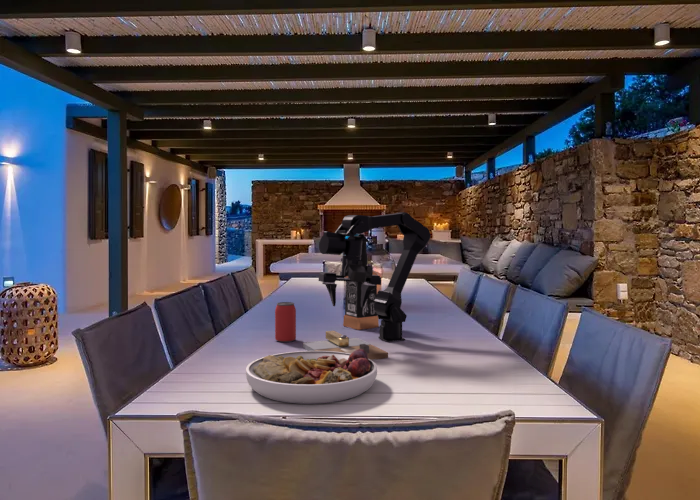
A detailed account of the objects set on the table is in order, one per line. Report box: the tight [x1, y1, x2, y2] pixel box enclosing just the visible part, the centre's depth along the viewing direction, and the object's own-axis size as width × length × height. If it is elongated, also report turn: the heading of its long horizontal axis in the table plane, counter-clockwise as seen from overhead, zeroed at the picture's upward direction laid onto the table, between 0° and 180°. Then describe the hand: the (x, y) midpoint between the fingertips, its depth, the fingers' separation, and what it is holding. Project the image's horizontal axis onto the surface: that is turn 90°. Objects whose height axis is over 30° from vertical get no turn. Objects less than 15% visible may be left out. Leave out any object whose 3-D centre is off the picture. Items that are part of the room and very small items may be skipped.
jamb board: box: [302, 337, 372, 351], centre depth 160 cm, size 18×12×2 cm, turn 113°
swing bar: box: [325, 330, 350, 347], centre depth 160 cm, size 13×3×3 cm, turn 23°
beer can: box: [274, 301, 297, 343], centre depth 171 cm, size 7×7×12 cm
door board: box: [315, 344, 389, 361], centre depth 151 cm, size 18×11×4 cm, turn 113°
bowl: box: [245, 349, 378, 405], centre depth 123 cm, size 30×30×8 cm
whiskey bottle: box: [342, 242, 380, 331], centre depth 195 cm, size 10×10×32 cm
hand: (348, 306), depth 164 cm, fingers open, 9 cm apart
